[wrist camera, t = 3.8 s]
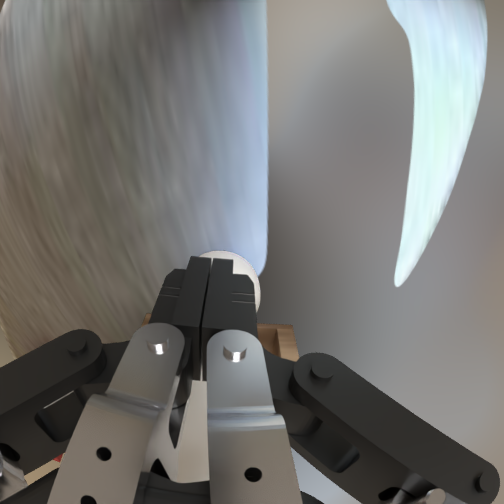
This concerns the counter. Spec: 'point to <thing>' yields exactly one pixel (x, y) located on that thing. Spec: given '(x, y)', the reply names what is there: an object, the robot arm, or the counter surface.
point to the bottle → (205, 399)
